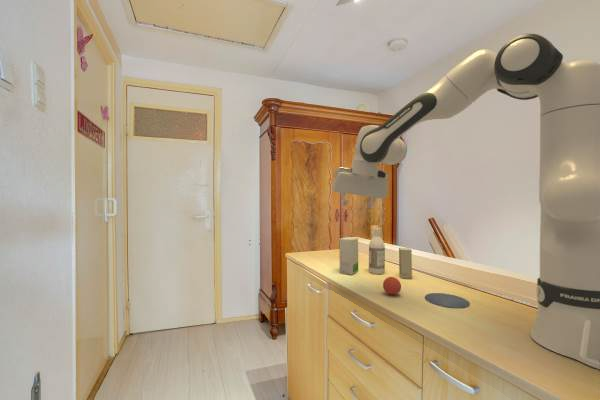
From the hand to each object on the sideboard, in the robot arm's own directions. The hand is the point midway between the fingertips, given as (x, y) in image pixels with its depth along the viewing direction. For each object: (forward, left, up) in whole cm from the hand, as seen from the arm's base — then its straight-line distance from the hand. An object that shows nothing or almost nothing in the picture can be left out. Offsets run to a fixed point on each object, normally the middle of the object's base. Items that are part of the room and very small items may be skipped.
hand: (356, 206), depth 104 cm
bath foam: (-6, -25, -31) cm, 40 cm away
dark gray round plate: (-30, +3, -30) cm, 43 cm away
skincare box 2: (-18, -22, -31) cm, 41 cm away
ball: (-13, +3, -27) cm, 30 cm away
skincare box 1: (+6, -21, -31) cm, 37 cm away
